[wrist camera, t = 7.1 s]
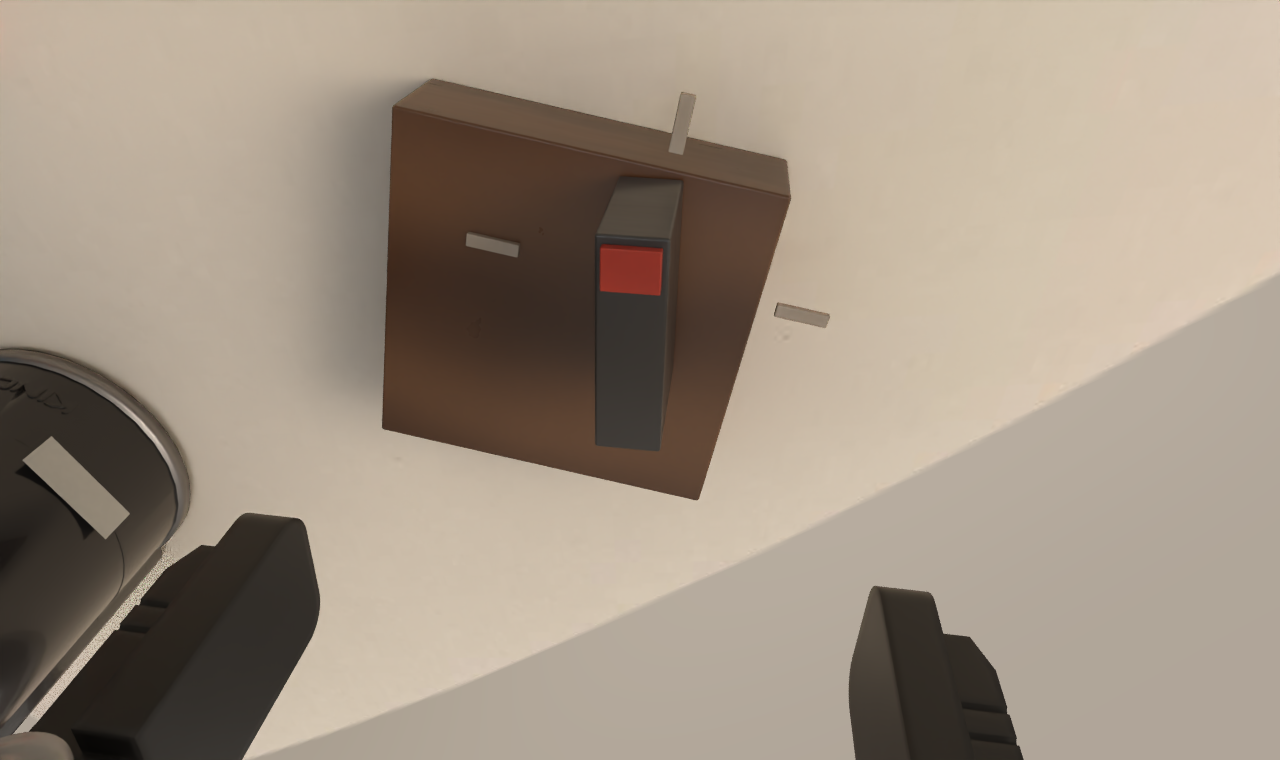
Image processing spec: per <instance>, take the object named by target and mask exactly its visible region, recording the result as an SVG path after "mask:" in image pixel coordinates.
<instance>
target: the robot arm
mask: <svg viewBox="0 0 1280 760" xmlns="http://www.w3.org/2000/svg"><path fill="white" fill-rule="evenodd" d="M189 504H190V483H189V478H188V474H187V471H186V467H185V465H184V462H183V460H182V457H181V455H180V453H179V452H178V450H177V448H176V446H175V444H174V443H173V441H172V440H171V438H170V437H169V435H168V434H167V433H166V431H165V430H164V429H163V427H162V426H161V425H160V424H159V423H158V421H157V420H156V419H155V418H154V417H153V416H152V415H151V414H150V413H149V412H148V411H147V410H146V409H145V408H144V407H143V406H142V405H141V404H140V403H139V402H137V401H136V400H135V399H134V398H133V397H132V396H130V395H129V394H128V393H126V392H125V391H124V390H122V389H121V388H120V387H118V386H117V385H115V384H114V383H112V382H111V381H109V380H107V379H106V378H104V377H102V376H100V375H99V374H97V373H95V372H93V371H91V370H89V369H87V368H85V367H83V366H81V365H78V364H76V363H73V362H71V361H68V360H65V359H62V358H59V357H56V356H52V355H49V354H45V353H40V352H34V351H27V350H0V760H242V759H243V757H244V755H245V753H246V752H247V750H248V748H249V746H250V745H251V743H252V741H253V739H254V738H255V736H256V734H257V732H258V731H259V729H260V727H261V725H262V724H263V722H264V720H265V718H266V717H267V715H268V713H269V712H270V710H271V708H272V706H273V705H274V703H275V701H276V699H277V698H278V696H279V694H280V692H281V691H282V689H283V687H284V685H285V684H286V682H287V680H288V678H289V677H290V675H291V673H292V671H293V670H294V668H295V666H296V664H297V663H298V661H299V659H300V657H301V656H302V654H303V652H304V650H305V649H306V647H307V645H308V643H309V642H310V640H311V638H312V636H313V633H314V631H315V628H316V625H317V621H318V616H319V610H320V594H319V589H318V584H317V579H316V574H315V569H314V564H313V559H312V555H311V550H310V545H309V540H308V535H307V531H306V527H305V525H304V523H303V521H302V520H300V519H298V518H289V517H281V516H272V515H263V514H254V513H245V514H243V515H241V516H240V517H239V518H238V519H237V520H236V521H235V522H234V523H233V525H232V526H231V527H230V528H229V530H228V531H227V532H226V534H225V535H224V536H223V537H222V539H221V540H220V541H219V542H218V544H217V545H216V546H215V547H214V546H206V545H201V546H199V547H198V548H196V549H195V550H194V551H192V552H191V553H189V554H188V555H186V556H185V557H183V558H182V559H180V560H179V561H177V562H176V563H174V564H173V565H171V566H170V567H168V568H167V569H166V570H165V571H164V572H163V573H162V574H161V576H160V577H159V578H158V579H157V580H156V582H155V583H154V584H153V585H152V586H151V587H150V589H149V590H148V591H147V592H146V593H145V595H144V596H143V597H142V598H141V603H140V605H135V607H134V608H133V609H132V610H131V611H130V613H129V614H128V615H127V616H126V617H125V618H124V620H123V621H122V622H121V623H120V628H119V630H114V632H113V633H112V634H111V635H110V636H109V638H108V639H107V640H106V641H105V642H104V643H103V645H102V646H101V647H100V648H99V649H98V651H97V652H96V653H95V654H94V655H93V657H92V658H91V659H90V660H89V661H88V663H87V664H86V665H85V666H84V667H83V669H82V670H81V671H80V672H79V673H78V674H77V676H76V677H75V678H74V679H73V680H72V682H71V683H70V684H69V685H68V686H67V688H66V689H65V690H64V691H63V692H62V694H61V695H60V696H59V697H58V698H57V700H56V701H55V702H54V703H53V704H52V705H51V707H50V708H49V709H48V710H47V711H46V713H45V714H44V715H43V716H42V717H41V719H40V720H39V721H38V722H37V723H36V724H35V725H34V726H33V727H32V729H31V730H30V731H29V732H24V733H18V734H13V733H14V732H15V731H16V730H17V728H18V727H19V726H20V725H21V724H22V723H23V721H24V720H25V719H26V718H27V717H28V715H29V714H30V713H31V712H32V711H33V710H34V708H35V707H36V706H37V705H38V704H39V702H40V701H41V700H42V699H43V698H44V696H45V695H46V694H47V693H48V692H49V691H50V689H51V688H52V687H53V686H54V685H55V683H56V682H57V681H58V680H59V679H60V678H61V676H62V675H63V674H64V673H65V672H66V670H67V669H68V668H69V667H70V666H71V664H72V663H73V662H74V661H75V660H76V659H77V657H78V656H79V655H80V654H81V653H82V651H83V650H84V649H85V648H86V647H87V646H88V644H89V643H90V642H91V641H92V640H93V638H94V637H95V636H96V635H97V634H98V633H99V631H100V630H101V629H102V628H103V627H104V625H105V624H106V623H107V622H108V621H109V619H110V618H111V617H112V616H113V615H114V614H115V612H116V611H117V610H118V609H119V608H120V606H121V605H122V604H123V603H124V602H125V601H126V599H127V598H128V597H129V596H130V595H131V593H132V592H133V591H134V590H135V589H136V587H137V586H138V585H139V584H140V583H141V582H142V580H143V579H144V578H145V577H146V576H147V574H148V573H149V572H150V571H151V570H152V569H153V567H154V566H155V565H156V564H157V563H158V561H159V560H160V559H161V558H162V550H161V546H162V545H164V544H165V543H166V542H167V541H168V540H169V539H170V537H171V536H172V535H173V534H174V533H175V532H176V530H177V529H178V528H179V527H180V526H181V524H182V523H183V521H184V519H185V517H186V515H187V512H188V509H189ZM849 708H850V717H851V725H852V732H853V741H854V750H855V758H856V760H1023V756H1022V753H1021V750H1020V747H1019V746H1017V744H1016V739H1017V738H1016V734H1015V731H1014V728H1013V724H1012V721H1011V718H1010V715H1008V714H1007V705H1006V702H1005V699H1004V696H1003V692H1002V689H1001V686H1000V683H999V679H998V676H997V673H996V670H995V669H994V668H993V666H992V665H991V664H990V662H989V661H988V660H987V659H986V657H985V656H984V655H983V654H982V652H981V651H980V650H979V648H978V647H977V646H976V644H975V643H974V642H973V641H972V639H971V638H970V637H967V636H958V635H950V634H943V631H942V627H941V623H940V620H939V616H938V612H937V608H936V604H935V601H934V598H933V596H932V595H931V593H929V592H923V591H915V590H906V589H897V588H888V587H879V586H874V587H873V588H872V589H871V591H870V594H869V597H868V601H867V605H866V608H865V612H864V616H863V620H862V623H861V627H860V631H859V635H858V639H857V643H856V646H855V650H854V654H853V657H852V662H851V668H850V676H849ZM12 734H13V735H12Z"/></svg>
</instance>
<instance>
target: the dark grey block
mask: <svg viewBox="0 0 1280 760" xmlns="http://www.w3.org/2000/svg"><path fill="white" fill-rule="evenodd" d="M683 185H684V183H683V181H682V180H671V179H656V178H640V177H625V176H621V177H619V179H618V181H617V184H616V186H615V189H614V191H613V193H612V196H611V198H610V201H609V203H608V205H607V208H606V210H605V212H604V215H603V217H602V220H601V222H600V224H599V227H598V229H597V231H596V234H595V444H596V446H603V447H614V448H625V449H636V450H647V451H660V449H661V443H662V437H663V430H664V424H665V418H666V411H667V405H668V399H669V392H670V386H671V380H672V373H673V361H674V343H675V326H676V308H677V290H678V273H679V255H680V238H681V220H682V203H683Z"/></svg>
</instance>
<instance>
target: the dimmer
mask: <svg viewBox="0 0 1280 760" xmlns="http://www.w3.org/2000/svg"><path fill="white" fill-rule="evenodd" d="M695 99H696V95H693V94H689V93H684V92H681V95H680V100H679V104H678V109H677V113H676V118H675V123H674V127H673V132H672V134H671V133H666V132H662V131H658V130H653V129H649V128H645V127H640V126H636V125H632V124H627V123H623V122H619V121H614V120H610V119H606V118H601V117H597V116H593V115H588V114H584V113H580V112H575V111H571V110H566V109H562V108H558V107H553V106H549V105H545V104H540V103H536V102H532V101H527V100H523V99H519V98H514V97H510V96H506V95H501V94H497V93H493V92H488V91H484V90H480V89H475V88H471V87H467V86H462V85H458V84H453V83H449V82H445V81H440V80H436V79H431V80H429V81H428V82H426V83H425V84H424V85H422V86H421V87H419V88H418V89H416V90H415V91H413V92H412V93H411V94H409V95H408V96H406V97H405V98H403V99H402V100H400V101H399V102H398V103H396V104H395V105H393V107H392V136H391V167H390V198H389V229H388V260H387V291H386V322H385V353H384V384H383V415H382V428H383V429H385V430H389V431H394V432H398V433H403V434H407V435H411V436H416V437H420V438H425V439H429V440H433V441H438V442H442V443H447V444H451V445H455V446H460V447H464V448H469V449H473V450H477V451H482V452H486V453H491V454H495V455H499V456H504V457H508V458H513V459H517V460H521V461H526V462H530V463H535V464H539V465H543V466H548V467H552V468H557V469H561V470H565V471H570V472H574V473H579V474H583V475H587V476H592V477H596V478H601V479H605V480H609V481H614V482H618V483H623V484H627V485H631V486H636V487H640V488H645V489H649V490H653V491H658V492H662V493H667V494H671V495H675V496H680V497H684V498H689V499H693V500H698V499H699V497H700V494H701V491H702V487H703V484H704V481H705V478H706V474H707V471H708V468H709V464H710V461H711V458H712V455H713V451H714V448H715V445H716V442H717V438H718V435H719V432H720V429H721V425H722V422H723V419H724V416H725V412H726V409H727V406H728V403H729V399H730V396H731V393H732V390H733V386H734V383H735V380H736V376H737V373H738V370H739V367H740V363H741V360H742V357H743V354H744V350H745V347H746V344H747V341H748V337H749V334H750V331H751V328H752V324H753V321H754V318H755V315H756V311H757V308H758V305H759V302H760V298H761V295H762V292H763V289H764V285H765V282H766V279H767V275H768V272H769V269H770V266H771V262H772V259H773V256H774V253H775V249H776V246H777V243H778V240H779V236H780V233H781V230H782V227H783V223H784V220H785V217H786V214H787V210H788V207H789V204H790V201H791V195H790V185H789V176H788V166H787V161H786V160H784V159H779V158H775V157H771V156H766V155H762V154H758V153H753V152H749V151H745V150H740V149H736V148H732V147H727V146H723V145H719V144H714V143H710V142H706V141H701V140H697V139H692V138H688V137H687V135H688V130H689V126H690V122H691V117H692V113H693V108H694V104H695ZM621 176H625V177H640V178H656V179H671V180H682V181H683V183H684V185H683V203H682V220H681V238H680V255H679V273H678V290H677V308H676V326H675V343H674V361H673V373H672V380H671V386H670V392H669V399H668V405H667V411H666V418H665V424H664V430H663V437H662V443H661V449H660V451H647V450H636V449H625V448H614V447H603V446H596V444H595V234H596V231H597V229H598V227H599V224H600V222H601V220H602V217H603V215H604V212H605V210H606V208H607V205H608V203H609V201H610V198H611V196H612V193H613V191H614V189H615V186H616V184H617V181H618V179H619V177H621ZM774 316H775V317H779V318H783V319H788V320H792V321H797V322H801V323H805V324H810V325H814V326H818V327H823V328H826V326H827V324H828V321H829V318H830V315H829V314H827V313H822V312H818V311H814V310H809V309H805V308H800V307H796V306H792V305H787V304H783V303H779V302H778V303H777V306H776V309H775V312H774Z"/></svg>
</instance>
